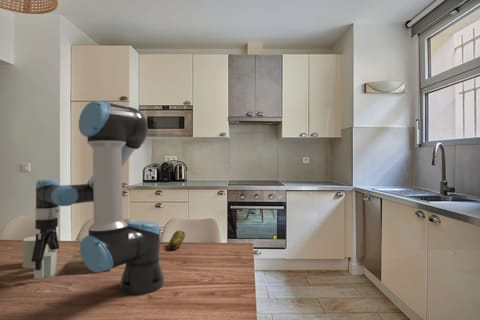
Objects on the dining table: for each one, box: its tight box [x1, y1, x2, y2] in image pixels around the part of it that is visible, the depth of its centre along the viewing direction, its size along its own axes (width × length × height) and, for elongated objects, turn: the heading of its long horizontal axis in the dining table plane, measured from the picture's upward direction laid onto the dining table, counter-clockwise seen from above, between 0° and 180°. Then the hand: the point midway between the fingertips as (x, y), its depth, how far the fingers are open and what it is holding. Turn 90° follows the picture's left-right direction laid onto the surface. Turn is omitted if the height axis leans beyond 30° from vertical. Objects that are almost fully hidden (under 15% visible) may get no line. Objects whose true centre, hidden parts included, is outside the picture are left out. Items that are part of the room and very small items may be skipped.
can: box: [21, 235, 49, 269], centre depth 125 cm, size 9×9×12 cm
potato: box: [168, 230, 186, 250], centre depth 152 cm, size 8×13×8 cm, turn 154°
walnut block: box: [66, 250, 112, 275], centre depth 123 cm, size 16×16×5 cm
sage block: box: [37, 252, 57, 278], centre depth 114 cm, size 5×5×8 cm
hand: (46, 271), depth 114 cm, fingers open, 13 cm apart
